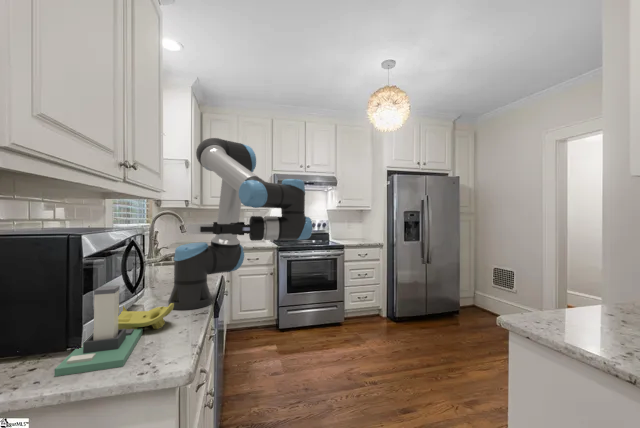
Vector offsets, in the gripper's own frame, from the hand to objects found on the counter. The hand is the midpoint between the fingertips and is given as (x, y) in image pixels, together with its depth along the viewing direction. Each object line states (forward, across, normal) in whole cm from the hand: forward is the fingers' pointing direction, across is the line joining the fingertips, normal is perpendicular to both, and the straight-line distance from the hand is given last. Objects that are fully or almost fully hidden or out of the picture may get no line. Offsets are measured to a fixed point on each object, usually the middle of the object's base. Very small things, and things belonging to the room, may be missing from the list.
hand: (188, 228), depth 83 cm
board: (+18, -5, -30) cm, 35 cm away
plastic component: (+14, +11, -30) cm, 35 cm away
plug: (+18, -5, -28) cm, 34 cm away
